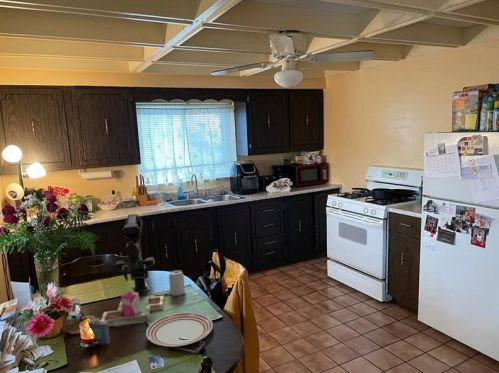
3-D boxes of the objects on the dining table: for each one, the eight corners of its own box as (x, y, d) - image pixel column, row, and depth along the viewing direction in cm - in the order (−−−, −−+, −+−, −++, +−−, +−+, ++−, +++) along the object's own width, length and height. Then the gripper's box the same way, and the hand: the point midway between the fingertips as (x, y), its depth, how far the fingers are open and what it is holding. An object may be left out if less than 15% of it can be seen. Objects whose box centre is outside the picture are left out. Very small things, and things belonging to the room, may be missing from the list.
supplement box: (132, 313, 178) (129, 291, 176) (141, 315, 175) (139, 292, 174) (123, 319, 173) (120, 296, 171) (133, 321, 170) (130, 297, 168)
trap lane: (108, 307, 187) (108, 301, 187) (163, 299, 192) (163, 294, 191) (100, 328, 166) (99, 322, 166) (162, 319, 171) (161, 313, 170)
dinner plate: (209, 314, 174) (208, 307, 173) (216, 346, 147) (216, 338, 146) (148, 323, 168) (147, 316, 168) (144, 358, 141) (144, 350, 141)
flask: (111, 341, 155) (108, 317, 153) (107, 345, 152) (103, 320, 150) (92, 339, 157) (89, 315, 156) (88, 343, 154) (84, 319, 153)
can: (186, 290, 201) (184, 269, 200) (182, 296, 194) (180, 274, 192) (173, 290, 202) (171, 269, 201) (168, 296, 195) (166, 274, 193)
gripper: (111, 257, 177) (114, 288, 179) (151, 252, 181) (154, 283, 183) (114, 250, 188) (118, 280, 190) (152, 246, 191) (155, 275, 194)
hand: (136, 279), depth 189 cm, fingers open, 9 cm apart
